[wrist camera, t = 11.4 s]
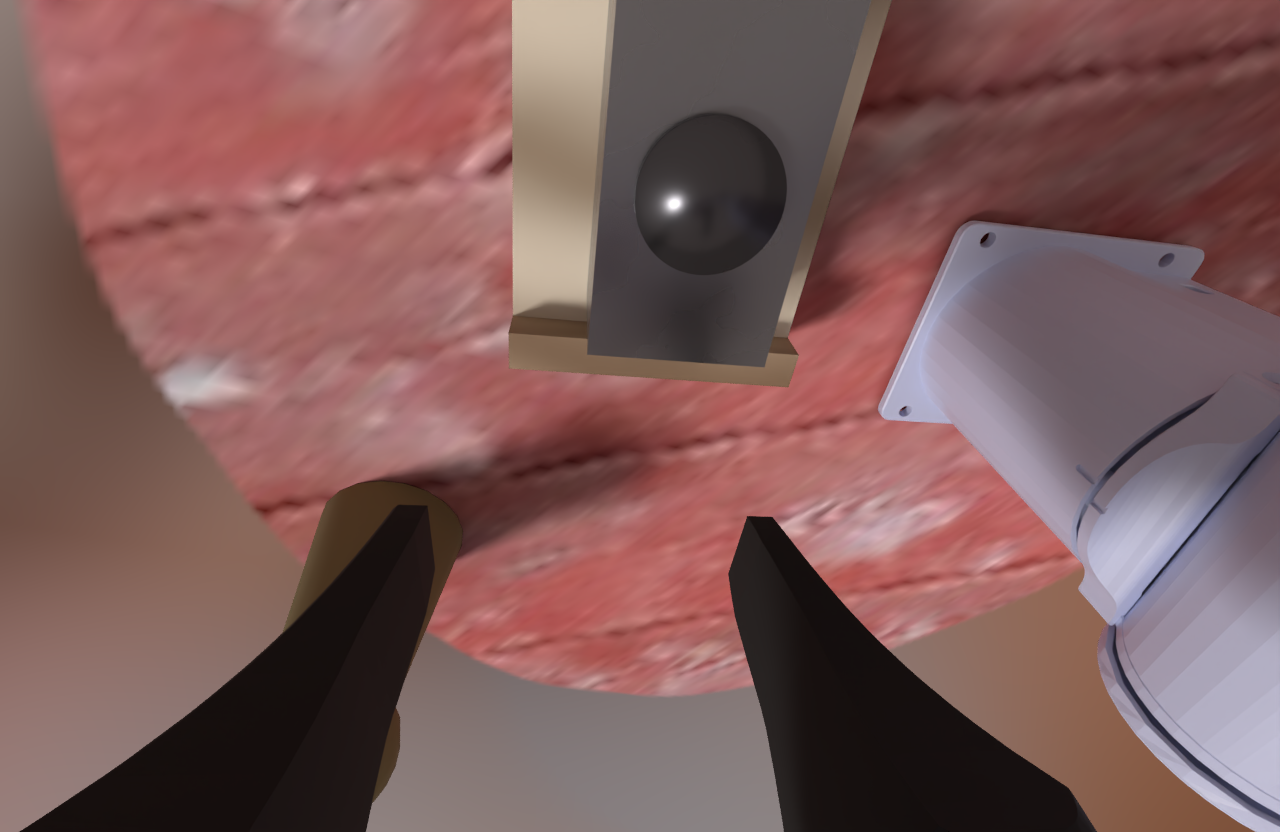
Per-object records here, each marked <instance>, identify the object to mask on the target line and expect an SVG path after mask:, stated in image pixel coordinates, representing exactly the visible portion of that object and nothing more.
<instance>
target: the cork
mask: <svg viewBox="0 0 1280 832" xmlns="http://www.w3.org/2000/svg"><path fill="white" fill-rule="evenodd" d="M397 505H427V506H428V513H429V521H430V530H431V538H432V546H433V554H434V562H435V572H434V578H433V583H432V588H431V593H430V598H429V603H428V607H427V612H426V616H425V619H424V622H423V625H422V628H421V631H420V634H419V637H418V641H417V644H416V647H415V650H414V653H413V656H412V659H411V662H410V665H409V668H410V666H411V664H412V661H413V659H414V657H415V654H416V652H417V650H418V647H419V645H420V642H421V640H422V638H423V635H424V633H425V631H426V628H427V626H428V623H429V621H430V619H431V616H432V614H433V612H434V609H435V607H436V605H437V602H438V600H439V597H440V595H441V593H442V590H443V588H444V586H445V583H446V581H447V578H448V576H449V574H450V571H451V569H452V567H453V564H454V562H455V560H456V557H457V555H458V552H459V550H460V548H461V545H462V535H463V530H462V528H461V525H460V522H459V520H458V517H457V516H456V514H455V513H454V512H453V511H452V510H451V509H450V508H449V507H448V505H447V504H446V503H445V502H443V501H442V500H440V499H439V498H437V497H435V496H434V495H432V494H431V493H429V492H427V491H425V490H422V489H419V488H416V487H413V486H410V485H407V484H404V483H395V482H387V481H375V482H366V483H358V484H356V485H353V486H351V487H348V488H346V489H343V490H341V491H339V492H338V493H337V494H336V495H334V496H333V497H332V498H331V499H330V500H329V501H328V502H327V503H326V505H325V508H324V510H323V513H322V515H321V518H320V521H319V524H318V527H317V530H316V533H315V536H314V539H313V542H312V545H311V548H310V551H309V554H308V557H307V560H306V563H305V566H304V569H303V573H302V576H301V579H300V582H299V584H298V588H297V591H296V594H295V597H294V600H293V603H292V606H291V609H290V612H289V615H288V618H287V621H286V624H285V627H284V630H283V632H284V631H285V630H286V629H287V628H288V627H289V626H290V625H291V624H292V623H293V622H294V621H295V620H296V619H297V618H298V617H299V616H300V615H301V614H302V613H303V612H304V611H305V610H306V609H307V608H308V607H309V606H310V605H311V604H312V603H313V602H314V601H315V600H316V599H317V598H318V597H319V596H320V595H321V594H322V593H323V592H324V590H325V589H326V588H327V587H328V586H329V585H330V584H331V583H332V582H333V581H334V579H335V578H336V577H337V576H338V575H339V574H340V573H341V571H342V570H343V569H344V568H345V567H346V566H347V565H348V564H349V562H350V561H351V560H352V559H353V558H354V557H355V556H356V554H357V553H358V552H359V551H360V550H361V548H362V547H363V546H364V545H365V544H366V542H367V541H368V540H369V539H370V537H371V536H372V535H373V534H374V532H375V531H376V530H377V529H378V527H379V526H380V525H381V524H382V522H383V521H384V520H385V518H386V517H387V516H388V515H389V513H390V512H391V511H392V509H393V508H394V507H396V506H397ZM409 668H408V671H409ZM408 671H407V673H408ZM406 676H407V674H406ZM405 678H406V677H405ZM399 749H400V716H399V714H398V711H397V709H396V708H395V711H394V714H393V717H392V721H391V724H390V728H389V731H388V735H387V738H386V743H385V747H384V751H383V756H382V760H381V765H380V769H379V773H378V778H377V782H376V786H375V791H374V796H373V800H372V803H373V802H374V800H375V799H376V798H377V797H378V796H379V794H380V793H381V792H382V790H383V789H384V788H385V786H386V785H387V783H388V781H389V778H390V777H391V774H392V772H393V770H394V768H395V766H396V762H397V758H398V753H399Z"/></svg>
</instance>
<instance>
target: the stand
mask: <svg viewBox="0 0 1280 832" xmlns="http://www.w3.org/2000/svg"><path fill="white" fill-rule="evenodd" d="M891 1H892V0H871V4H870V7H869V10H868V14H867V17H866V21H865V24H864V28H863V31H862V34H861V38H860V41H859V45H858V48H857V52H856V55H855V58H854V62H853V65H852V69H851V72H850V76H849V79H848V82H847V86H846V89H845V93H844V96H843V100H842V103H841V106H840V110H839V113H838V117H837V120H836V124H835V127H834V130H833V134H832V137H831V141H830V144H829V148H828V151H827V154H826V158H825V161H824V165H823V168H822V172H821V175H820V178H819V182H818V185H817V189H816V192H815V196H814V199H813V202H812V206H811V209H810V213H809V216H808V220H807V223H806V226H805V230H804V233H803V237H802V240H801V244H800V247H799V250H798V254H797V257H796V261H795V264H794V268H793V271H792V274H791V278H790V281H789V285H788V288H787V292H786V295H785V299H784V302H783V305H782V309H781V312H780V316H779V319H778V323H777V326H776V329H775V333H774V336H773V340H772V343H771V347H770V350H769V353H768V357H767V360H766V364H765V367H751V366H737V365H723V364H709V363H695V362H681V361H668V360H654V359H640V358H626V357H612V356H598V355H587V281H588V268H589V255H590V242H591V229H592V216H593V203H594V190H595V177H596V163H597V150H598V137H599V124H600V111H601V98H602V85H603V72H604V59H605V45H606V32H607V19H608V6H609V0H512V118H513V318H512V322H511V326H510V330H509V368H512V369H527V370H542V371H556V372H571V373H586V374H601V375H615V376H630V377H645V378H660V379H674V380H689V381H704V382H719V383H733V384H748V385H763V386H778V387H789V384H790V381H791V378H792V375H793V371H794V368H795V365H796V362H797V359H798V356H799V355H798V353H797V352H796V350H795V349H794V347H793V345H792V344H791V342H790V341H789V339H788V335H789V331H790V328H791V325H792V322H793V318H794V315H795V312H796V309H797V306H798V302H799V299H800V296H801V293H802V289H803V286H804V283H805V280H806V276H807V273H808V270H809V267H810V263H811V260H812V257H813V254H814V250H815V247H816V244H817V241H818V237H819V234H820V231H821V228H822V225H823V221H824V218H825V215H826V212H827V208H828V205H829V202H830V199H831V195H832V192H833V189H834V186H835V182H836V179H837V176H838V173H839V169H840V166H841V163H842V160H843V156H844V153H845V150H846V147H847V144H848V140H849V137H850V134H851V131H852V127H853V124H854V121H855V118H856V114H857V111H858V108H859V105H860V101H861V98H862V95H863V92H864V88H865V85H866V82H867V79H868V75H869V72H870V69H871V66H872V62H873V59H874V56H875V53H876V50H877V46H878V43H879V40H880V37H881V33H882V30H883V27H884V24H885V20H886V17H887V14H888V11H889V7H890V4H891Z"/></svg>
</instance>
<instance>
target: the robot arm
mask: <svg viewBox="0 0 1280 832" xmlns="http://www.w3.org/2000/svg"><path fill="white" fill-rule="evenodd" d="M987 233H989V236H988V238H987V240H986V241H985V242H983V243H982V244H980V241H981V238H982V237H983V236H984V235H985V234H987ZM1204 255H1205V254H1204V252H1203V250H1201V249H1199V248H1196V247H1193V246H1188V245H1179V244H1171V243H1162V242H1154V241H1145V240H1137V239H1128V238H1120V237H1111V236H1103V235H1094V234H1086V233H1077V232H1069V231H1060V230H1052V229H1043V228H1035V227H1026V226H1018V225H1009V224H1001V223H992V222H984V221H969V222H967V223H965V224H963V225H962V226H961V227H960V228H959V229H958V230H957V232H956V234H955V236H954V238H953V240H952V242H951V245H950V247H949V249H948V251H947V254H946V256H945V258H944V260H943V263H942V265H941V267H940V269H939V272H938V274H937V276H936V278H935V280H934V283H933V285H932V287H931V289H930V292H929V294H928V296H927V298H926V301H925V303H924V305H923V307H922V310H921V312H920V314H919V316H918V319H917V321H916V323H915V325H914V328H913V330H912V332H911V334H910V337H909V339H908V341H907V343H906V345H905V348H904V350H903V352H902V354H901V357H900V359H899V361H898V363H897V366H896V368H895V370H894V372H893V375H892V377H891V379H890V381H889V384H888V386H887V388H886V390H885V393H884V395H883V397H882V399H881V401H880V404H879V407H878V411H879V413H880V414H881V416H882V417H883V418H884V419H887V420H898V421H915V422H931V423H948V424H953V425H954V426H955V427H956V428H957V429H958V430H959V431H960V432H961V433H962V434H963V435H964V436H965V438H966V439H967V440H968V441H969V442H970V443H971V444H972V445H973V446H974V447H975V448H976V449H977V450H978V452H979V453H980V454H981V455H982V456H983V457H984V458H985V459H986V460H987V461H988V462H989V463H990V465H991V466H992V467H993V468H994V469H995V470H996V471H997V472H998V473H999V474H1000V475H1001V476H1002V478H1003V479H1004V480H1005V481H1006V482H1007V483H1008V484H1009V485H1010V486H1011V487H1012V488H1013V489H1014V491H1015V492H1016V493H1017V494H1018V495H1019V496H1020V497H1021V498H1022V499H1023V500H1024V501H1025V502H1026V504H1027V505H1028V506H1029V507H1030V508H1031V509H1032V510H1033V511H1034V512H1035V513H1036V514H1037V515H1038V517H1039V518H1040V519H1041V520H1042V521H1043V522H1044V523H1045V524H1046V525H1047V526H1048V527H1049V528H1050V529H1051V531H1052V532H1053V533H1054V534H1055V535H1056V536H1057V537H1058V538H1059V539H1060V540H1061V541H1062V542H1063V544H1064V545H1065V546H1066V547H1067V548H1068V549H1069V550H1070V551H1071V552H1072V553H1073V554H1074V555H1075V557H1076V558H1077V559H1078V560H1079V561H1080V562H1081V563H1083V566H1084V568H1085V576H1084V579H1083V581H1082V582H1081V584H1080V586H1079V591H1080V592H1081V593H1082V594H1083V595H1084V597H1085V598H1086V599H1087V600H1088V601H1089V602H1090V603H1091V604H1092V606H1093V607H1094V608H1095V609H1096V610H1097V611H1098V613H1099V614H1100V615H1101V616H1102V617H1103V618H1104V619H1105V620H1106V622H1107V625H1106V626H1105V627H1104V629H1103V630H1102V633H1101V636H1100V639H1099V642H1098V663H1099V668H1100V673H1101V676H1102V679H1103V681H1104V683H1105V686H1106V688H1107V691H1108V693H1109V695H1110V696H1111V698H1112V700H1113V702H1114V704H1115V705H1116V707H1117V709H1118V710H1119V712H1120V714H1121V715H1122V716H1123V718H1124V719H1125V720H1126V722H1127V723H1128V724H1129V726H1130V727H1131V728H1132V730H1133V731H1134V732H1135V734H1136V735H1137V736H1138V737H1139V738H1140V739H1141V741H1142V742H1143V743H1144V744H1145V745H1146V746H1147V747H1148V748H1149V749H1150V751H1151V752H1153V754H1154V755H1155V756H1156V757H1157V758H1158V759H1159V760H1160V761H1161V762H1162V763H1164V765H1166V766H1167V767H1168V768H1169V769H1170V770H1171V771H1172V772H1173V773H1174V774H1175V775H1176V776H1177V777H1178V778H1179V779H1181V780H1182V781H1183V782H1184V783H1186V784H1187V785H1188V786H1189V787H1191V788H1192V789H1193V790H1194V791H1196V792H1197V793H1198V794H1199V795H1201V796H1202V797H1203V798H1204V799H1206V800H1207V801H1208V802H1210V803H1211V804H1213V805H1214V806H1216V807H1217V808H1219V809H1220V810H1222V811H1223V812H1224V813H1226V814H1227V815H1229V816H1230V817H1232V818H1233V819H1235V820H1236V821H1238V822H1239V823H1241V824H1243V825H1245V826H1246V827H1248V828H1250V829H1252V830H1253V831H1256V832H1280V317H1279V316H1276V315H1274V314H1271V313H1269V312H1267V311H1264V310H1262V309H1259V308H1257V307H1255V306H1252V305H1250V304H1248V303H1245V302H1243V301H1240V300H1238V299H1236V298H1233V297H1231V296H1228V295H1226V294H1224V293H1221V292H1219V291H1217V290H1214V289H1212V288H1209V287H1207V286H1205V285H1202V284H1200V283H1197V282H1195V281H1193V280H1190V279H1191V278H1192V276H1193V275H1194V274H1195V272H1196V271H1197V269H1198V268H1199V267H1200V265H1201V264H1202V262H1203V260H1204ZM1163 256H1164V257H1163ZM1162 257H1163V258H1162ZM1161 258H1162V259H1161ZM1160 259H1161V260H1160ZM904 406H907V407H906V408H905V409H904V410H902V411H900V409H901V408H903V407H904ZM434 572H435V562H434V554H433V546H432V538H431V530H430V521H429V513H428V506H427V505H397V506H396V507H394V508H393V509H392V511H391V512H390V513H389V515H388V516H387V517H386V518H385V520H384V521H383V522H382V524H381V525H380V526H379V527H378V529H377V530H376V531H375V532H374V534H373V535H372V536H371V537H370V539H369V540H368V541H367V542H366V544H365V545H364V546H363V547H362V548H361V550H360V551H359V552H358V553H357V554H356V556H355V557H354V558H353V559H352V560H351V561H350V562H349V564H348V565H347V566H346V567H345V568H344V569H343V570H342V571H341V573H340V574H339V575H338V576H337V577H336V578H335V579H334V581H333V582H332V583H331V584H330V585H329V586H328V587H327V588H326V589H325V590H324V592H323V593H322V594H321V595H320V596H319V597H318V598H317V599H316V600H315V601H314V602H313V603H312V604H311V605H310V606H309V607H308V608H307V609H306V610H305V611H304V612H303V613H302V614H301V615H300V616H299V617H298V618H297V619H296V620H295V621H294V622H293V623H292V624H291V625H290V626H289V627H288V628H287V629H286V630H285V631H284V632H283V633H282V634H281V635H280V636H279V637H278V638H277V639H276V640H275V641H274V642H273V643H272V644H270V646H268V647H267V648H266V649H265V650H264V651H263V652H262V653H261V654H260V655H258V656H257V657H256V658H255V659H254V660H253V661H252V662H251V663H249V664H248V665H247V666H246V667H245V668H244V669H243V670H242V671H240V672H239V673H238V674H237V675H235V676H234V677H233V678H232V679H231V680H230V681H228V682H227V683H226V684H225V685H223V686H222V687H221V688H220V689H219V690H218V691H217V692H215V693H214V694H213V695H212V696H210V697H209V698H208V699H207V700H205V701H204V702H203V703H202V704H200V705H199V706H198V707H197V708H196V709H194V710H193V711H192V712H191V713H189V714H188V715H187V716H185V717H184V718H183V719H181V720H180V721H179V722H177V723H176V724H174V725H173V726H172V727H170V728H169V729H168V730H166V731H165V732H164V733H162V734H161V735H160V736H158V737H157V738H156V739H154V740H153V741H152V742H150V743H149V744H147V745H146V746H145V747H143V748H142V749H141V750H139V751H138V752H137V753H135V754H134V755H133V756H131V757H130V758H129V759H127V760H126V761H124V762H123V763H122V764H120V765H119V766H117V767H116V768H115V769H113V770H112V771H110V772H109V773H107V774H106V775H105V776H103V777H102V778H100V779H98V780H97V781H95V782H94V783H93V784H91V785H89V786H88V787H87V788H85V789H84V790H82V791H80V792H79V793H77V794H76V795H75V796H73V797H72V798H70V799H69V800H67V801H66V802H64V803H63V804H61V805H60V806H58V807H57V808H55V809H54V810H52V811H51V812H49V813H48V814H46V815H45V816H43V817H42V818H40V819H39V820H37V821H35V822H34V823H32V824H31V825H29V826H28V827H26V828H25V829H23V830H21V831H20V832H366V828H367V823H368V819H369V814H370V810H371V805H372V800H373V796H374V791H375V786H376V782H377V778H378V773H379V769H380V765H381V760H382V756H383V751H384V747H385V743H386V738H387V735H388V731H389V728H390V724H391V721H392V717H393V714H394V711H395V708H396V705H397V702H398V699H399V696H400V692H401V689H402V686H403V683H404V680H405V677H406V674H407V671H408V668H409V665H410V662H411V659H412V656H413V653H414V650H415V647H416V644H417V641H418V637H419V634H420V631H421V628H422V625H423V622H424V619H425V616H426V612H427V607H428V603H429V598H430V593H431V588H432V583H433V578H434ZM728 574H729V581H730V588H731V595H732V601H733V607H734V613H735V618H736V622H737V625H738V629H739V632H740V636H741V640H742V643H743V647H744V650H745V654H746V657H747V661H748V664H749V668H750V671H751V675H752V678H753V682H754V685H755V689H756V692H757V696H758V699H759V703H760V706H761V709H762V714H763V718H764V722H765V726H766V730H767V736H768V741H769V746H770V751H771V757H772V762H773V768H774V773H775V779H776V785H777V791H778V797H779V803H780V808H781V815H782V821H783V828H784V832H1097V831H1096V830H1095V828H1094V827H1093V825H1092V823H1091V822H1090V820H1089V819H1088V817H1087V816H1086V814H1085V812H1084V811H1083V809H1082V808H1081V806H1080V805H1079V803H1078V802H1077V800H1076V798H1075V797H1074V795H1073V794H1072V793H1071V791H1070V790H1069V788H1067V787H1066V786H1065V785H1063V784H1061V783H1060V782H1059V781H1057V780H1056V779H1054V778H1052V777H1051V776H1050V775H1048V774H1047V773H1045V772H1044V771H1042V770H1040V769H1039V768H1038V767H1036V766H1035V765H1033V764H1032V763H1030V762H1028V761H1027V760H1026V759H1024V758H1023V757H1021V756H1020V755H1018V754H1016V753H1015V752H1014V751H1012V750H1011V749H1009V748H1008V747H1006V746H1005V745H1004V744H1002V743H1001V742H1000V741H998V740H997V739H995V738H994V737H993V736H991V735H990V734H989V733H987V732H986V731H985V730H983V729H982V728H980V727H979V726H978V725H976V724H975V723H973V722H972V721H971V720H970V719H969V718H967V717H966V716H964V715H963V714H962V713H961V712H960V711H958V710H957V709H956V708H954V707H953V706H952V705H951V704H949V703H948V702H947V701H946V700H944V699H943V698H942V697H941V696H940V695H939V694H937V693H936V692H935V691H934V690H933V689H931V688H930V687H929V686H928V685H927V684H925V683H924V682H923V681H922V680H921V679H919V678H918V677H917V676H916V675H915V674H914V673H913V672H911V671H910V670H909V669H908V668H907V667H906V666H905V665H904V664H903V663H902V662H901V661H899V660H898V659H897V658H896V657H895V656H894V655H893V654H892V653H891V652H890V651H889V650H888V649H887V648H886V647H885V646H884V645H882V644H881V643H880V642H879V641H878V640H877V639H876V638H875V637H874V636H873V635H872V634H871V633H870V632H869V631H868V630H867V629H866V628H865V626H864V625H863V624H862V623H861V622H860V621H859V620H858V619H857V618H856V617H855V616H854V615H853V614H852V613H851V612H850V610H849V609H848V608H847V607H846V606H845V605H844V604H843V603H842V602H841V600H840V599H839V598H838V597H837V596H836V595H835V594H834V592H833V591H832V590H831V589H830V588H829V587H828V585H827V584H826V583H825V582H824V581H823V579H822V578H821V577H820V576H819V575H818V574H817V572H816V571H815V570H814V569H813V567H812V566H811V565H810V564H809V563H808V561H807V560H806V559H805V558H804V556H803V555H802V554H801V553H800V551H799V550H798V549H797V547H796V546H795V545H794V544H793V542H792V541H791V540H790V539H789V537H788V536H787V535H786V534H785V532H784V531H783V530H782V529H781V527H780V526H779V525H778V524H777V522H776V521H775V520H774V519H773V517H756V516H747V519H746V522H745V525H744V528H743V531H742V534H741V537H740V540H739V543H738V546H737V549H736V552H735V555H734V558H733V561H732V564H731V567H730V570H729V573H728Z"/></svg>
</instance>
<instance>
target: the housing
mask: <svg viewBox="0 0 1280 832" xmlns="http://www.w3.org/2000/svg"><path fill="white" fill-rule="evenodd" d="M870 4H871V0H609V6H608V19H607V32H606V45H605V59H604V72H603V85H602V98H601V111H600V124H599V137H598V150H597V163H596V177H595V190H594V203H593V216H592V229H591V242H590V255H589V268H588V281H587V355H598V356H612V357H626V358H640V359H654V360H668V361H681V362H695V363H709V364H723V365H737V366H751V367H765V364H766V360H767V357H768V353H769V350H770V347H771V343H772V340H773V336H774V333H775V329H776V326H777V323H778V319H779V316H780V312H781V309H782V305H783V302H784V299H785V295H786V292H787V288H788V285H789V281H790V278H791V274H792V271H793V268H794V264H795V261H796V257H797V254H798V250H799V247H800V244H801V240H802V237H803V233H804V230H805V226H806V223H807V220H808V216H809V213H810V209H811V206H812V202H813V199H814V196H815V192H816V189H817V185H818V182H819V178H820V175H821V172H822V168H823V165H824V161H825V158H826V154H827V151H828V148H829V144H830V141H831V137H832V134H833V130H834V127H835V124H836V120H837V117H838V113H839V110H840V106H841V103H842V100H843V96H844V93H845V89H846V86H847V82H848V79H849V76H850V72H851V69H852V65H853V62H854V58H855V55H856V52H857V48H858V45H859V41H860V38H861V34H862V31H863V28H864V24H865V21H866V17H867V14H868V10H869V7H870Z"/></svg>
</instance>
